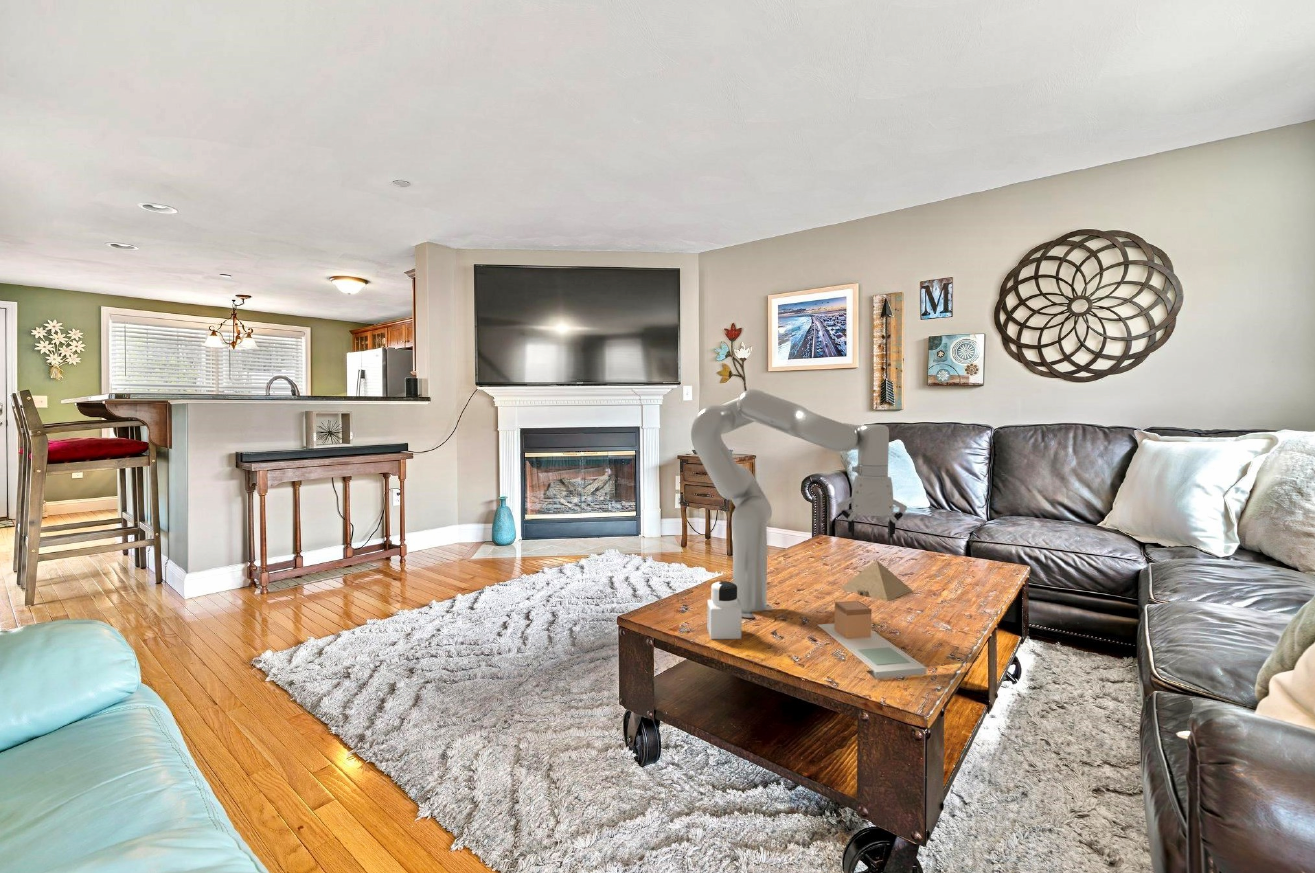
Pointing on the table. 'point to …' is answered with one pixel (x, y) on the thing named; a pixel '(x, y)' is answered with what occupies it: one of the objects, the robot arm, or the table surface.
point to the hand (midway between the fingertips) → (870, 536)
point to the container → (724, 612)
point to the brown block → (852, 619)
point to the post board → (878, 655)
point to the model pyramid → (877, 583)
